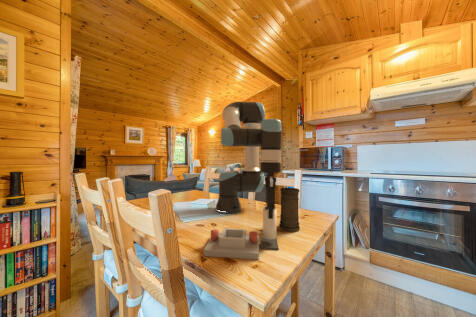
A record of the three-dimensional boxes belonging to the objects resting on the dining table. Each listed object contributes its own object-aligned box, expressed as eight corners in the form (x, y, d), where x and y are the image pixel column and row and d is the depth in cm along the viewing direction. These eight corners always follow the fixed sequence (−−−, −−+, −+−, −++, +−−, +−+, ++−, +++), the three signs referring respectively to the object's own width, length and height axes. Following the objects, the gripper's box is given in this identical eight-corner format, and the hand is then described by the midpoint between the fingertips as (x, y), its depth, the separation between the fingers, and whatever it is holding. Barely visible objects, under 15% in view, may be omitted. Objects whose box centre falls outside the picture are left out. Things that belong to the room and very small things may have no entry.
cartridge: (262, 233, 73) (263, 205, 73) (275, 233, 73) (276, 206, 73) (262, 238, 68) (263, 209, 68) (277, 239, 68) (277, 209, 68)
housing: (213, 237, 76) (213, 224, 76) (258, 239, 74) (258, 227, 74) (203, 255, 62) (203, 240, 62) (258, 259, 60) (258, 244, 60)
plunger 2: (249, 238, 69) (249, 231, 69) (257, 239, 69) (257, 231, 69) (248, 242, 66) (249, 234, 66) (257, 242, 66) (257, 234, 66)
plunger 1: (211, 236, 70) (211, 229, 70) (219, 237, 70) (219, 229, 70) (209, 240, 68) (209, 232, 68) (217, 240, 67) (217, 232, 67)
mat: (261, 238, 75) (261, 237, 75) (276, 239, 74) (276, 238, 74) (261, 248, 67) (261, 247, 67) (278, 250, 66) (278, 248, 66)
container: (300, 232, 81) (301, 191, 81) (279, 231, 83) (280, 190, 83) (298, 225, 90) (299, 187, 90) (279, 223, 92) (279, 186, 91)
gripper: (260, 160, 79) (259, 215, 80) (260, 162, 62) (259, 233, 62) (278, 160, 79) (277, 216, 79) (284, 162, 61) (283, 234, 61)
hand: (269, 223), depth 71 cm, fingers closed on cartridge, 5 cm apart
